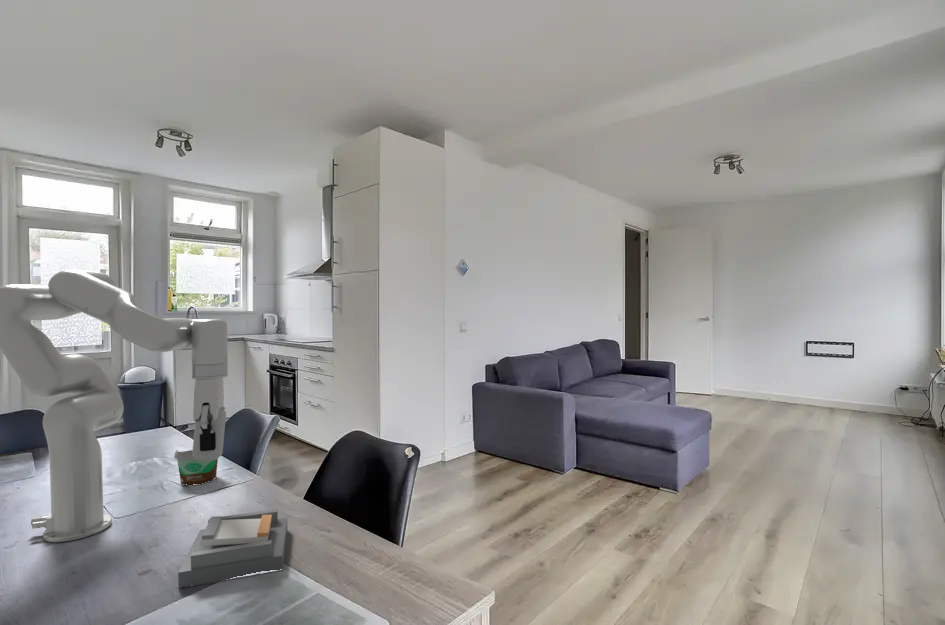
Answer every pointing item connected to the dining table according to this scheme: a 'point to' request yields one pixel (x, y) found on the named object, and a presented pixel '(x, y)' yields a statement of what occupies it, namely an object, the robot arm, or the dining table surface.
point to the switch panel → (235, 554)
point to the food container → (195, 468)
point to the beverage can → (219, 430)
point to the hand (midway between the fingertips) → (210, 445)
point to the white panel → (236, 531)
